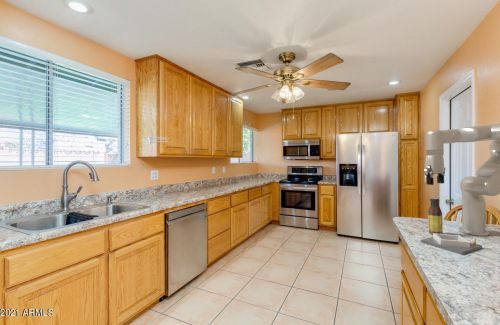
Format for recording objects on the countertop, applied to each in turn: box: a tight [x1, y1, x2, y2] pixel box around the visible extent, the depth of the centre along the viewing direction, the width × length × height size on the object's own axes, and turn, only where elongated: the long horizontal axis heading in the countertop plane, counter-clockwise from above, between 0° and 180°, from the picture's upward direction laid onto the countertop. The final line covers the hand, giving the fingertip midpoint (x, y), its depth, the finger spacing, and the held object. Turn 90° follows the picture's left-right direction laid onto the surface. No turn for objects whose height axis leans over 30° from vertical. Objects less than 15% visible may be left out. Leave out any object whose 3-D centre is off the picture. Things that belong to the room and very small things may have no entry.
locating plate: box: [420, 233, 483, 255], centre depth 115 cm, size 17×17×4 cm
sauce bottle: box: [427, 197, 444, 235], centre depth 132 cm, size 7×6×20 cm
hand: (435, 183), depth 130 cm, fingers open, 9 cm apart
